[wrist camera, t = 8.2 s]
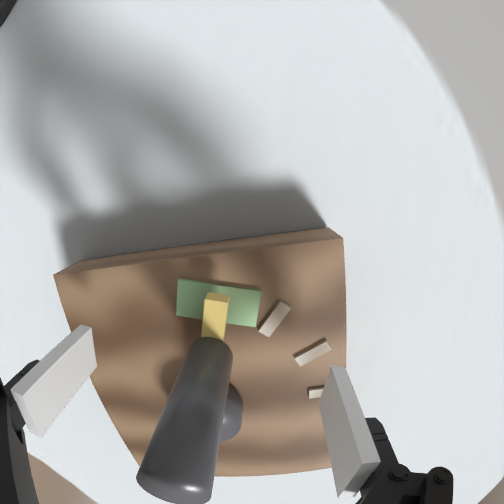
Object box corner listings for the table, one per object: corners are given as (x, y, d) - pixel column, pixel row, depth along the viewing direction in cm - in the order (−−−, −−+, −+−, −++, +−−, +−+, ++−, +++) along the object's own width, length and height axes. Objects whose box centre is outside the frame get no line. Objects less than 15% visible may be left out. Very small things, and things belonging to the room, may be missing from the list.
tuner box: (80, 260, 22) (50, 276, 18) (328, 227, 21) (344, 239, 16) (151, 445, 27) (141, 471, 23) (332, 438, 26) (339, 468, 21)
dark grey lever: (176, 417, 20) (137, 536, 9) (181, 278, 17) (85, 405, 6) (238, 428, 20) (225, 554, 9) (264, 291, 17) (264, 446, 6)
